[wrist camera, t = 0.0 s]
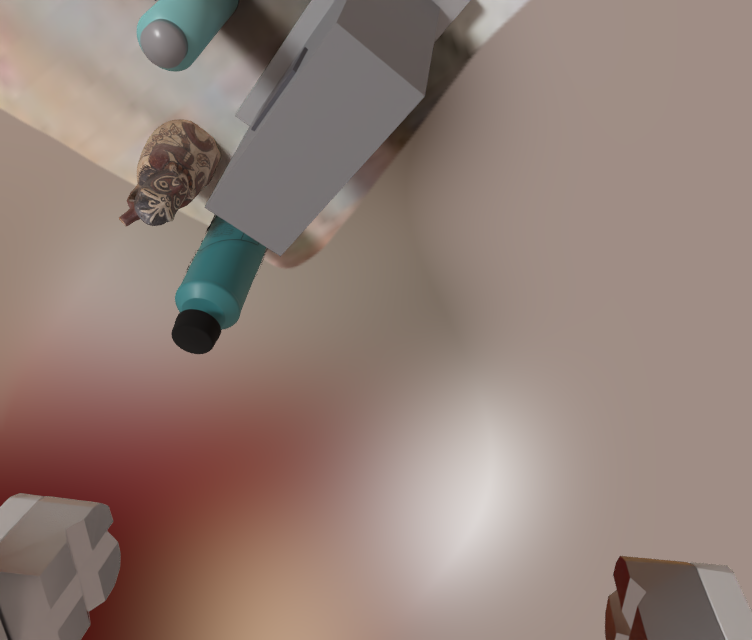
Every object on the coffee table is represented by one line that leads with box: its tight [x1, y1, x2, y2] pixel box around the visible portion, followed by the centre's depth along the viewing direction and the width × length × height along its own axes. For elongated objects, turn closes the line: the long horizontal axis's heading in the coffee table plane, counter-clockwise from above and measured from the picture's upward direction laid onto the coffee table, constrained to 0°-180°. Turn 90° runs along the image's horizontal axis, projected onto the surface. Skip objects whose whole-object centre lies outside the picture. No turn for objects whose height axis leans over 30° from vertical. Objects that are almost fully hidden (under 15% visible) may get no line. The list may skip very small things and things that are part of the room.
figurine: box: [119, 120, 221, 226], centre depth 62 cm, size 7×7×12 cm
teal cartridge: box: [137, 0, 239, 71], centre depth 51 cm, size 4×4×12 cm
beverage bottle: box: [172, 214, 268, 354], centre depth 64 cm, size 6×7×20 cm
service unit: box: [205, 0, 470, 256], centre depth 51 cm, size 22×10×18 cm, turn 143°
